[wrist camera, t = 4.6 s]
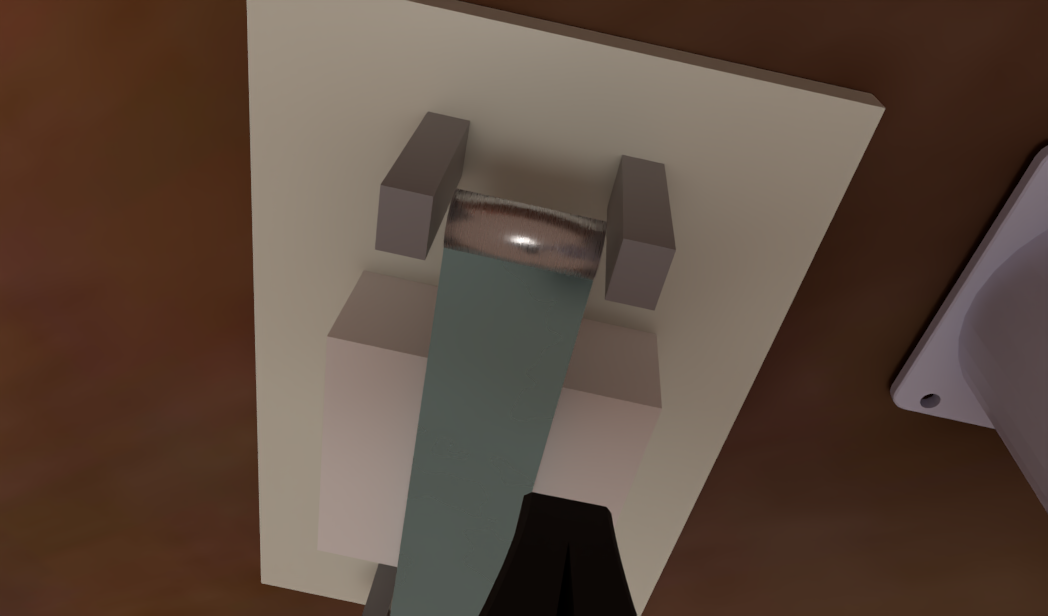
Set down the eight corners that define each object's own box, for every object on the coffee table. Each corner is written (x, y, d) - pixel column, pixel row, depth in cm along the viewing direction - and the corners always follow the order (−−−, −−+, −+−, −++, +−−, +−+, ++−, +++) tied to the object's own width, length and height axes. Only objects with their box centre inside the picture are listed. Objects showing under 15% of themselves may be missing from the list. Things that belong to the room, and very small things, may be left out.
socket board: (872, 93, 17) (965, 195, 12) (620, 634, 29) (620, 782, 25) (264, -43, 16) (132, 9, 12) (271, 560, 29) (207, 697, 24)
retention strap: (607, 210, 15) (606, 239, 14) (476, 671, 25) (470, 707, 24) (460, 178, 15) (449, 205, 14) (388, 652, 25) (378, 688, 24)
